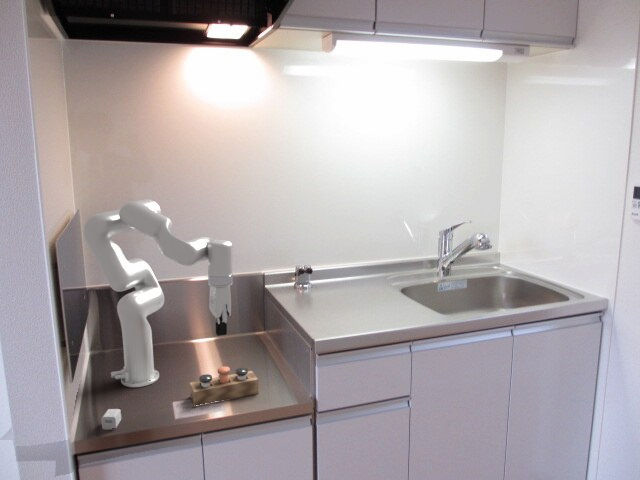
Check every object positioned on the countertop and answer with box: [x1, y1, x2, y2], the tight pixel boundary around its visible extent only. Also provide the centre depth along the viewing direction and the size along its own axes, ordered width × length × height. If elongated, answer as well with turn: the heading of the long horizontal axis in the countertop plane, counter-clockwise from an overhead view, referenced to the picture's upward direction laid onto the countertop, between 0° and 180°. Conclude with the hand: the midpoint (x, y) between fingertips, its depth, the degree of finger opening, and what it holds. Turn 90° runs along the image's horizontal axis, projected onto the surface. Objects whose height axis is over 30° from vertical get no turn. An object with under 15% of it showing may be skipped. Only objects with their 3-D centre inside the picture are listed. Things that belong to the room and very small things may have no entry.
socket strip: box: [189, 370, 259, 407], centre depth 168 cm, size 21×7×5 cm, turn 115°
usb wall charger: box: [101, 408, 122, 430], centre depth 152 cm, size 4×7×4 cm, turn 2°
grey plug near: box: [198, 374, 213, 388], centre depth 165 cm, size 4×4×7 cm
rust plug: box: [217, 366, 231, 384], centre depth 167 cm, size 4×4×7 cm
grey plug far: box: [235, 367, 249, 381], centre depth 170 cm, size 4×4×7 cm
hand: (221, 334), depth 164 cm, fingers closed
